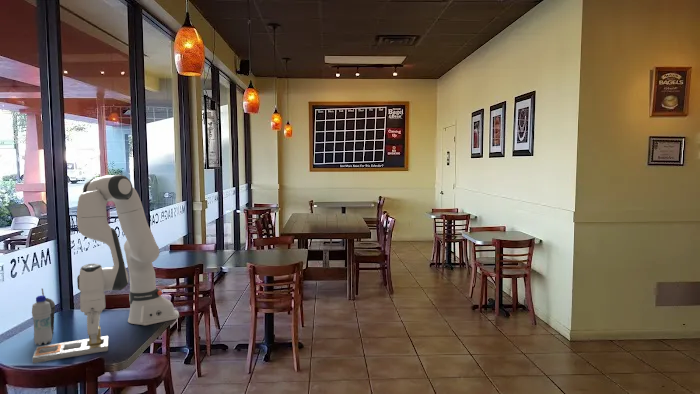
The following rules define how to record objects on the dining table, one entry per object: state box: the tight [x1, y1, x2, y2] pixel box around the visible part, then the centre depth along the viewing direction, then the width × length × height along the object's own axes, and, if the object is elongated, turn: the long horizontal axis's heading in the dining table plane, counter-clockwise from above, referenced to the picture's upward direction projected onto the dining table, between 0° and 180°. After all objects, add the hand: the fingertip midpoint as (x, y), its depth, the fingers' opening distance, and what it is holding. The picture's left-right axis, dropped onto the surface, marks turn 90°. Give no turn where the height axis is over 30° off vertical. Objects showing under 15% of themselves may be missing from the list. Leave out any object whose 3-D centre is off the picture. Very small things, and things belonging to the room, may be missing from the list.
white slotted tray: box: [32, 335, 109, 364], centre depth 187 cm, size 25×12×2 cm, turn 116°
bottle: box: [31, 295, 53, 346], centre depth 195 cm, size 7×7×20 cm
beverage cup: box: [41, 288, 56, 334], centre depth 206 cm, size 7×7×20 cm
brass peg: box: [88, 325, 102, 346], centre depth 191 cm, size 4×4×8 cm
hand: (94, 338), depth 191 cm, fingers open, 8 cm apart
